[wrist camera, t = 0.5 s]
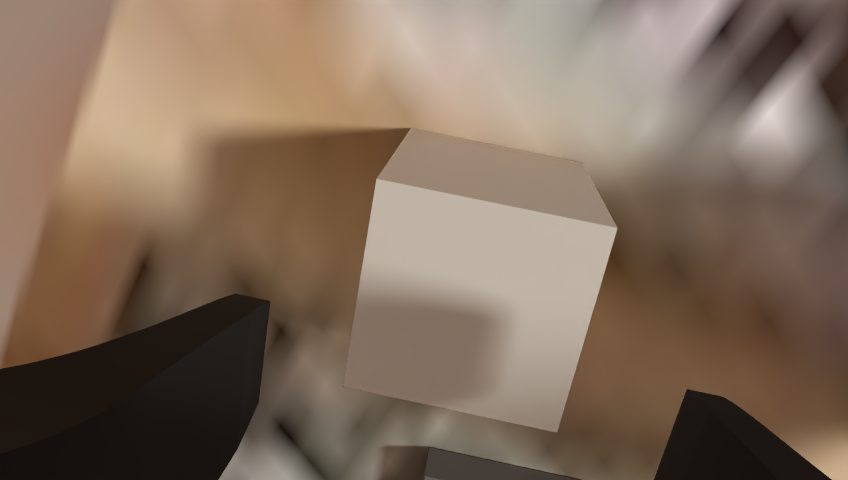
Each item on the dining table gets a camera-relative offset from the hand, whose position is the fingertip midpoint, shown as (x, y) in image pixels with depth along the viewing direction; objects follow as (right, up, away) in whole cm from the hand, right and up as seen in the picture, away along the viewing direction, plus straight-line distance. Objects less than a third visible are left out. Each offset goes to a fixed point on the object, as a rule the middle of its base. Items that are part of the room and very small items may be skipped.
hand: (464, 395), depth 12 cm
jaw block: (+1, +3, +9) cm, 9 cm away
